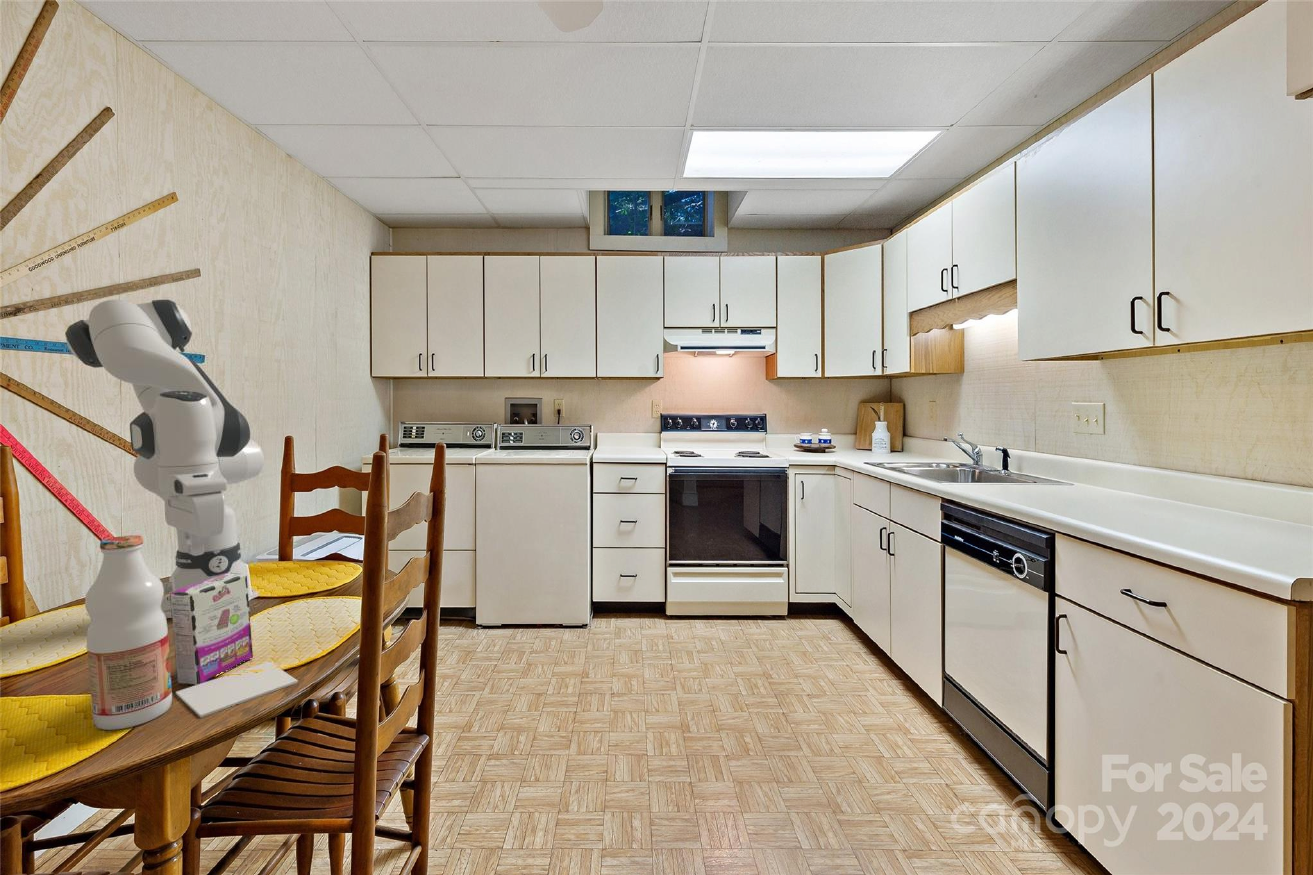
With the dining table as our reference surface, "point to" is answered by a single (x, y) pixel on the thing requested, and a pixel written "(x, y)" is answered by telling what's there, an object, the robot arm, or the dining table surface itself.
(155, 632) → the fruit juice
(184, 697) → the mat
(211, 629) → the candy bar box
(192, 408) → the robot arm
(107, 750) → the dining table surface
